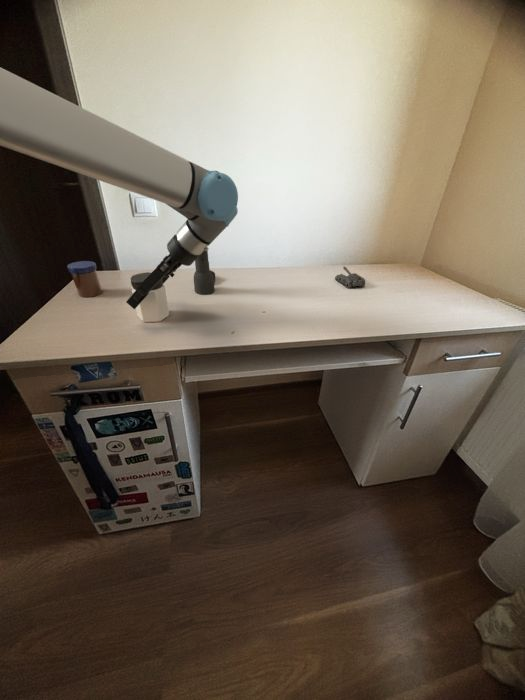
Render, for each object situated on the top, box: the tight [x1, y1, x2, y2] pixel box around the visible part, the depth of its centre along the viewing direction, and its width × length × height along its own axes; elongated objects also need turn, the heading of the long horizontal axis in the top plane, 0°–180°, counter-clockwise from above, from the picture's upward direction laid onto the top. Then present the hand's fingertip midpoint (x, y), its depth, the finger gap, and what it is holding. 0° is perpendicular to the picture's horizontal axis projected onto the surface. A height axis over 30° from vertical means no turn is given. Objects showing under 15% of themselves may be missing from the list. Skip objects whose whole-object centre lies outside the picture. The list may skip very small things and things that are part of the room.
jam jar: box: [70, 269, 103, 298], centre depth 94 cm, size 7×7×9 cm
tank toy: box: [334, 266, 366, 289], centre depth 113 cm, size 12×10×5 cm
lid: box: [66, 260, 98, 274], centre depth 92 cm, size 8×8×2 cm
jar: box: [130, 272, 170, 323], centre depth 81 cm, size 9×8×12 cm
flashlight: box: [193, 250, 215, 296], centre depth 93 cm, size 7×28×7 cm
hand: (142, 295), depth 81 cm, fingers open, 13 cm apart
